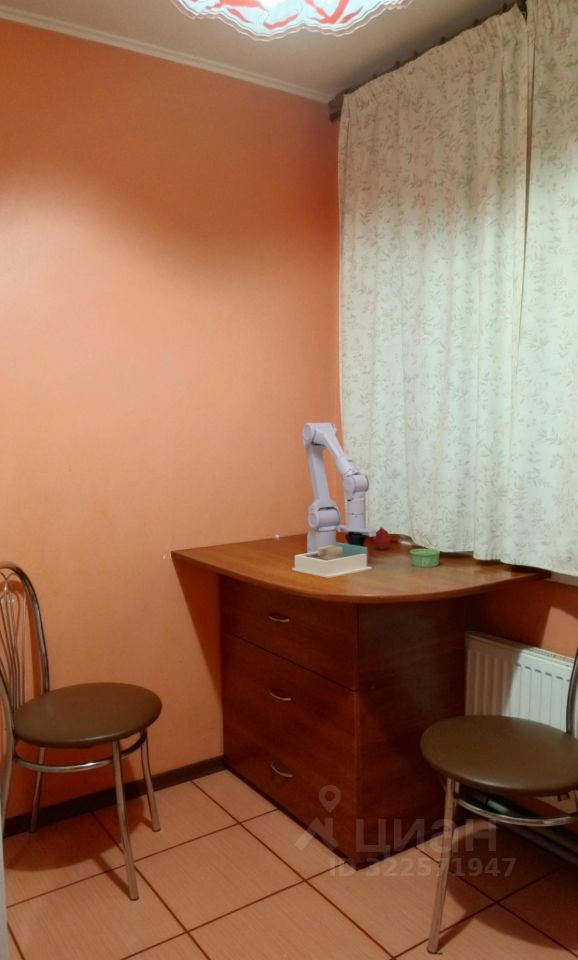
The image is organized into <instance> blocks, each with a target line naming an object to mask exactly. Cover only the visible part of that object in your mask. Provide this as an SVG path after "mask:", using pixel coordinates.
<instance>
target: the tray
mask: <svg viewBox="0 0 578 960" xmlns="http://www.w3.org/2000/svg"><path fill="white" fill-rule="evenodd" d="M335 546H338V547H343V557H349V556H354V555H359V554H366V566H368V547H367V546H363V547H362V546H356V545H351V544H349V543H343V542H338V541H336V543H335ZM306 557H311V558H316V559H321V560H326V561H327V560H328V559H323V558H318V554H313V555H307V556H306ZM343 557H342V558H343ZM337 559H338V558H337ZM332 560H333V559H332Z"/></svg>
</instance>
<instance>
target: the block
mask: <svg viewBox="0 0 578 960" xmlns="http://www.w3.org/2000/svg"><path fill="white" fill-rule="evenodd" d="M342 557H343V547H338V546H333V545H332V546H326V547H321V548H318V558H323V559H328V560H332V559H337V558H342Z"/></svg>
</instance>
